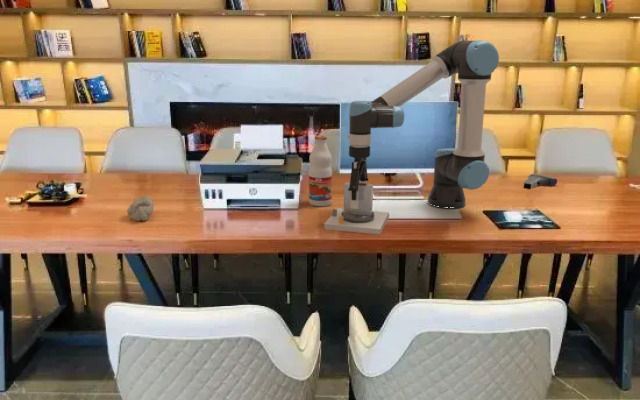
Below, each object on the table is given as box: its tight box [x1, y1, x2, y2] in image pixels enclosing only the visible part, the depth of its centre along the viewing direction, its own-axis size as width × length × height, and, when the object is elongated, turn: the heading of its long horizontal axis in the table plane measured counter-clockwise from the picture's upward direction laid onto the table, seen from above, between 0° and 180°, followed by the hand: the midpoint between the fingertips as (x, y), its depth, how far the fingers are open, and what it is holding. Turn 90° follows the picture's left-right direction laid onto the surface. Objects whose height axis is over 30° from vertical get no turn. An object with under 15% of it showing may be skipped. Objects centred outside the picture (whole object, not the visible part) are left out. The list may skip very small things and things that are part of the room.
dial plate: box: [323, 207, 390, 235], centre depth 198 cm, size 20×20×4 cm
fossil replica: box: [126, 194, 155, 222], centre depth 201 cm, size 12×8×10 cm
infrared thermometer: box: [523, 173, 558, 190], centre depth 250 cm, size 5×12×15 cm
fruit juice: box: [308, 134, 333, 207], centre depth 218 cm, size 9×9×28 cm
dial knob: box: [342, 181, 374, 222], centre depth 196 cm, size 12×12×12 cm
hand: (358, 203), depth 196 cm, fingers open, 13 cm apart
